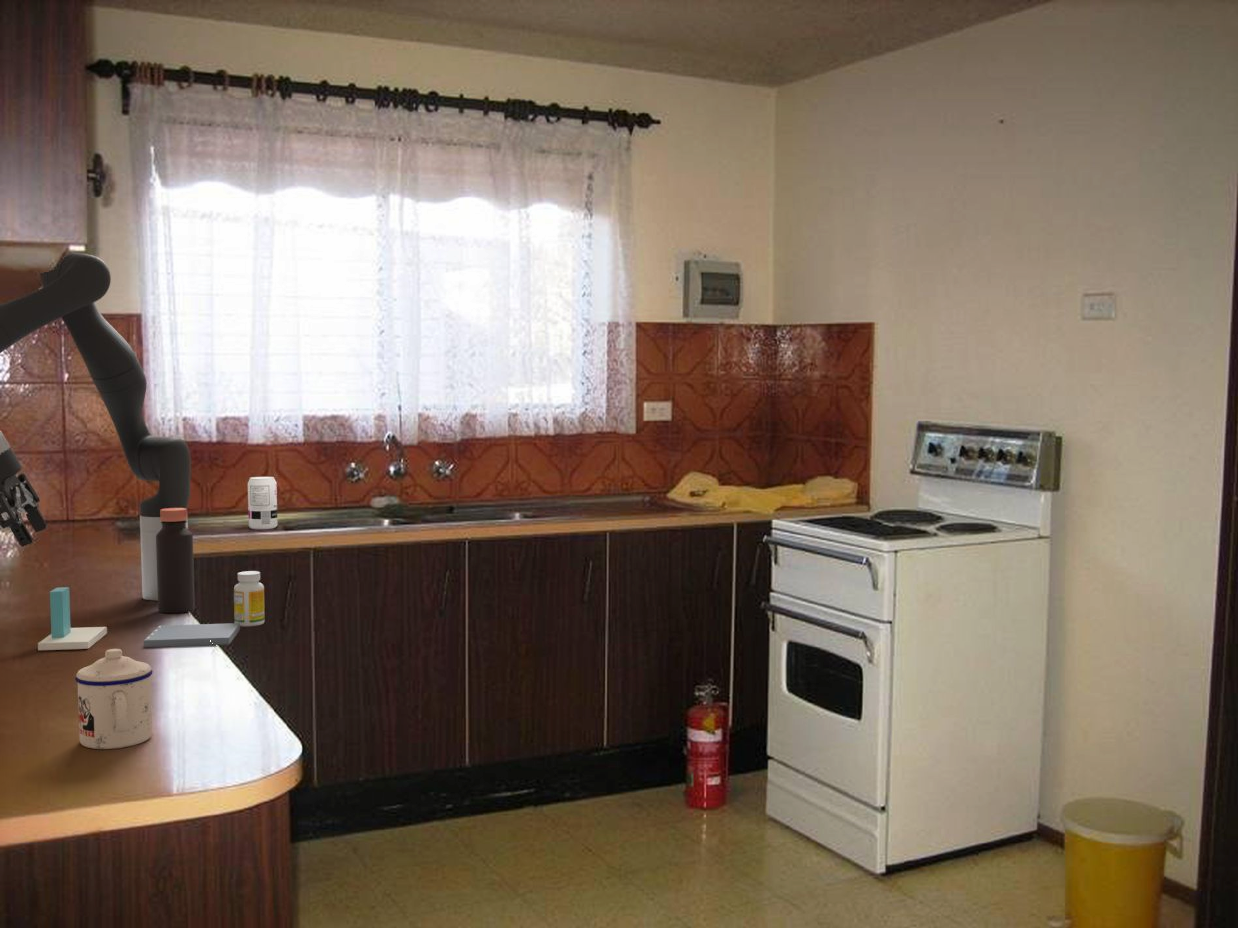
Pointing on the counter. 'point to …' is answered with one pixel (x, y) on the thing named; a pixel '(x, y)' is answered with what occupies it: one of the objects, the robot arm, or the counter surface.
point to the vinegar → (175, 563)
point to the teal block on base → (67, 626)
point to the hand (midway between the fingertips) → (35, 536)
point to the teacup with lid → (114, 702)
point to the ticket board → (192, 635)
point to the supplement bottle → (249, 599)
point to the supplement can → (262, 503)
